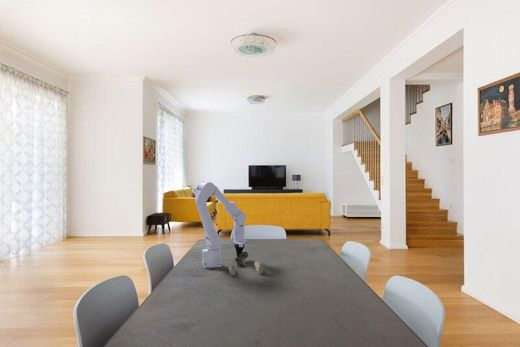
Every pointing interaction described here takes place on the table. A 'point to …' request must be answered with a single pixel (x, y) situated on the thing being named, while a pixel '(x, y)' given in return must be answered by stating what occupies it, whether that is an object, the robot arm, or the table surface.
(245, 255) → the eagle figurine
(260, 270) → the wooden matchsticks
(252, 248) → the table surface
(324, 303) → the table surface
